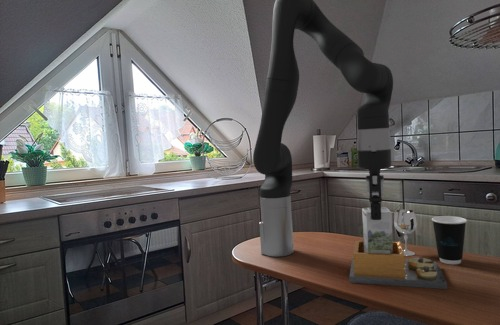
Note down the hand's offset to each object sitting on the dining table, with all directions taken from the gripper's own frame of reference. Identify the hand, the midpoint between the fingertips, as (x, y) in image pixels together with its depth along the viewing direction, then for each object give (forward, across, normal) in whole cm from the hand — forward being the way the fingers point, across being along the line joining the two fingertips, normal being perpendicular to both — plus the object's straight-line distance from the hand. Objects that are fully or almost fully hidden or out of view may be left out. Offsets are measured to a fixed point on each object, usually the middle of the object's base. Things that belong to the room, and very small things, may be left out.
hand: (376, 215), depth 85 cm
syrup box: (+13, 0, 0) cm, 13 cm away
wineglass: (+14, -17, +8) cm, 24 cm away
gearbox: (+14, 0, +4) cm, 15 cm away
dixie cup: (+14, -12, +18) cm, 26 cm away
